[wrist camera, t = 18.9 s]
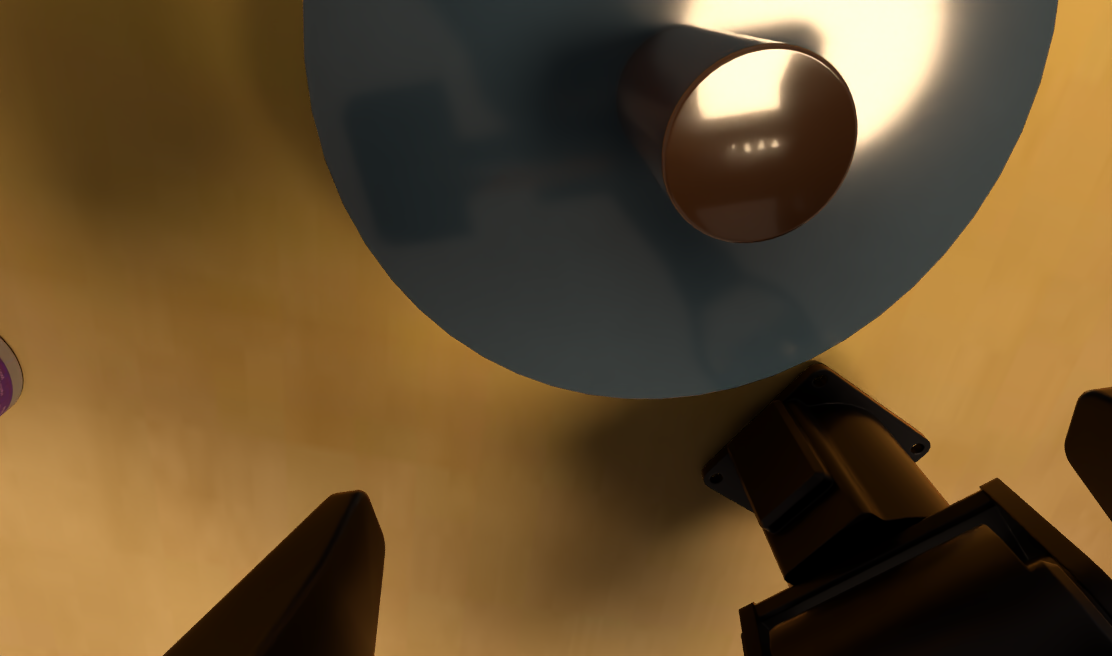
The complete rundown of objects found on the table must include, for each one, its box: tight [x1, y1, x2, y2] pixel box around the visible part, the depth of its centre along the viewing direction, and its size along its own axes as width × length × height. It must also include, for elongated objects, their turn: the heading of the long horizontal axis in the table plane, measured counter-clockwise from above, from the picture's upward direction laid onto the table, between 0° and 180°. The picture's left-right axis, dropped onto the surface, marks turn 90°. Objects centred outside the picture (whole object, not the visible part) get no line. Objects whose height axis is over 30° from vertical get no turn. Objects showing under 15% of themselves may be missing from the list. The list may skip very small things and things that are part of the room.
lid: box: [303, 0, 1058, 399], centre depth 10 cm, size 14×14×6 cm
